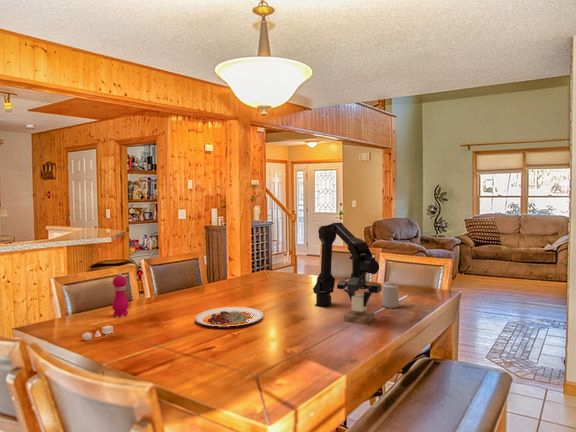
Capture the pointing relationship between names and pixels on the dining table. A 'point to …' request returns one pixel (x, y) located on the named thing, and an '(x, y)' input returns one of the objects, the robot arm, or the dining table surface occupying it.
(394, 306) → the can
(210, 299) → the dining table surface
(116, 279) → the pepper mill
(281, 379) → the dining table surface
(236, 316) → the plated food
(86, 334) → the game pieces
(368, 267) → the robot arm
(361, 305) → the block
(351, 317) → the plinth
